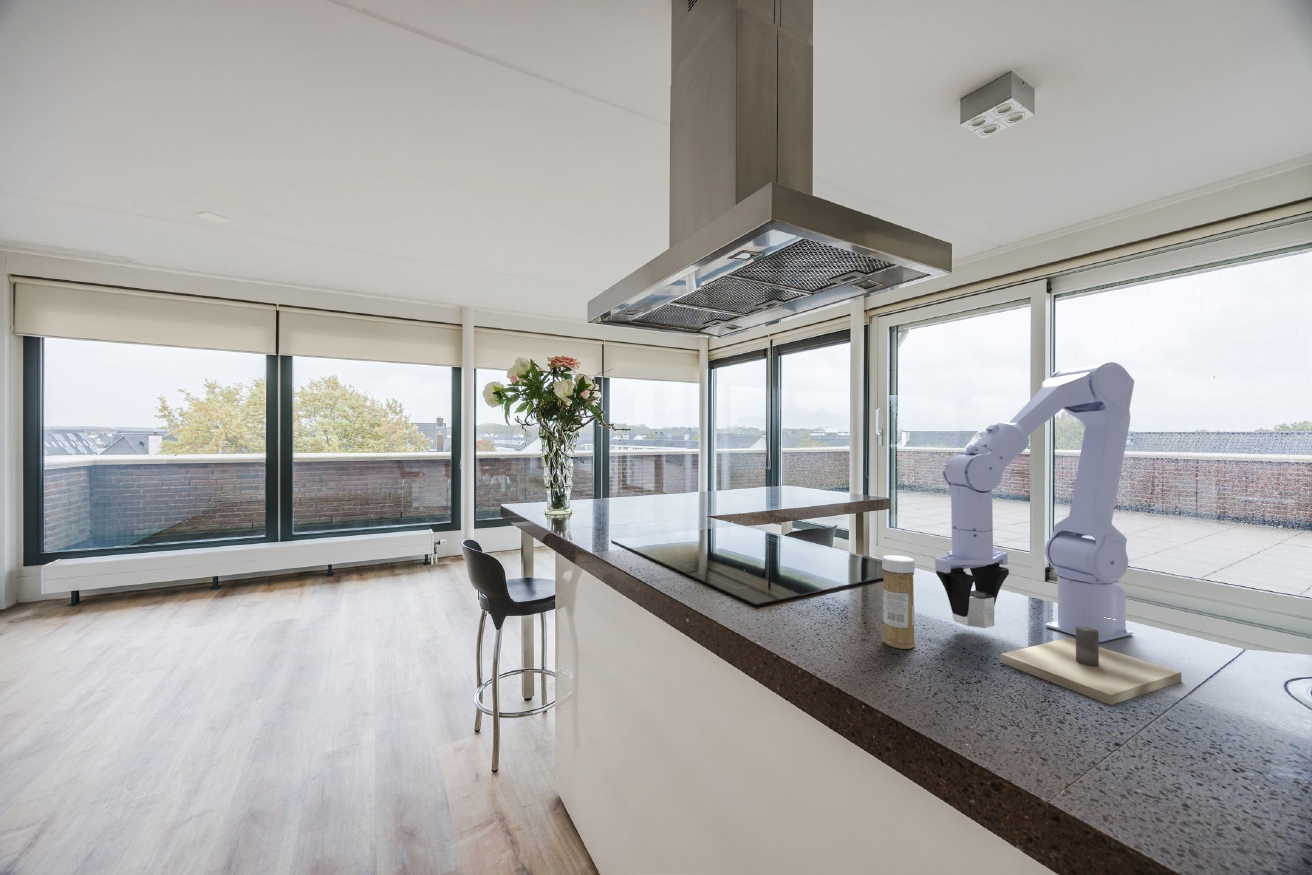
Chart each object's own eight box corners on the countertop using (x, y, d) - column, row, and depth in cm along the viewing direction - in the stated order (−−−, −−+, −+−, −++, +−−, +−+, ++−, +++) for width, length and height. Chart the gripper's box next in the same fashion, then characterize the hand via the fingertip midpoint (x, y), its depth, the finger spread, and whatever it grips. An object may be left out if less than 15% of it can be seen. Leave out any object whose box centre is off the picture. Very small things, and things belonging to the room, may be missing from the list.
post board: (1069, 645, 79) (1068, 608, 79) (1181, 681, 67) (1180, 637, 67) (1000, 662, 73) (1000, 622, 73) (1110, 705, 61) (1110, 656, 61)
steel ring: (968, 614, 87) (968, 587, 87) (1001, 624, 82) (1000, 596, 82) (945, 618, 85) (945, 590, 85) (977, 629, 80) (977, 600, 80)
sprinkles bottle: (921, 645, 79) (920, 558, 79) (904, 652, 76) (903, 562, 77) (893, 636, 83) (892, 553, 83) (876, 642, 80) (875, 556, 80)
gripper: (978, 522, 90) (979, 599, 90) (918, 527, 84) (919, 610, 84) (1020, 528, 83) (1021, 612, 83) (958, 534, 78) (959, 624, 78)
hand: (972, 612), depth 83 cm, fingers closed on steel ring, 5 cm apart
